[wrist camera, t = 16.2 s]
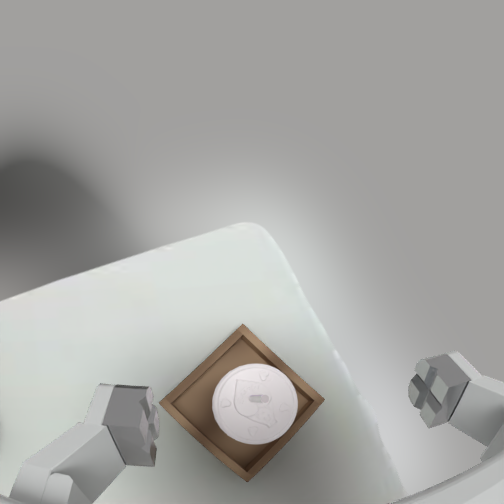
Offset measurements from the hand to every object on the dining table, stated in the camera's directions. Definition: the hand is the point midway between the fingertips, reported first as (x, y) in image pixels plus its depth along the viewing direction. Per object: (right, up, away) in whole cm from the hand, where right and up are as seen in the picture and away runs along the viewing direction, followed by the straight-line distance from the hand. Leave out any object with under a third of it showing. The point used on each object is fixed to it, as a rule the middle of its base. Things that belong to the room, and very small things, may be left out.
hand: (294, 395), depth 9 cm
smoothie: (-3, -11, +22) cm, 25 cm away
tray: (-2, -11, +22) cm, 25 cm away
